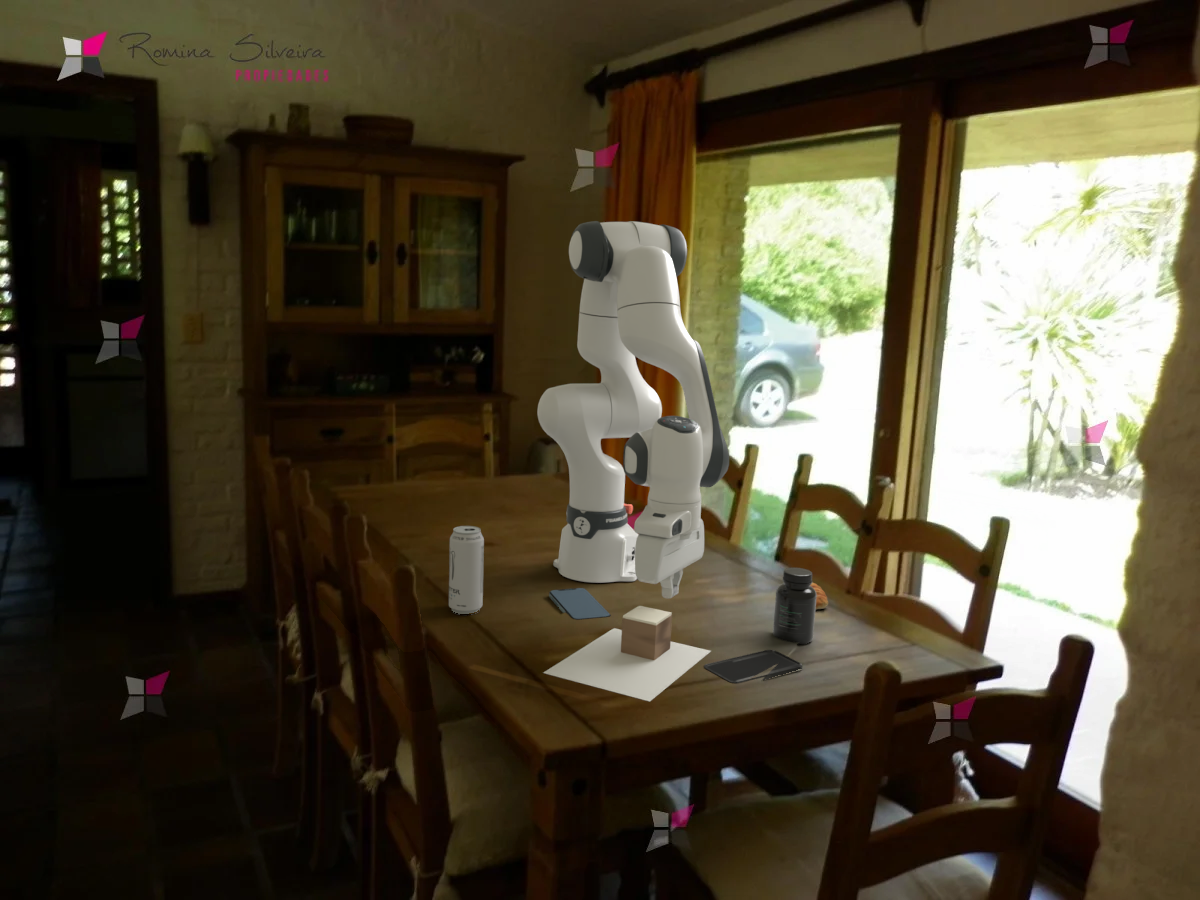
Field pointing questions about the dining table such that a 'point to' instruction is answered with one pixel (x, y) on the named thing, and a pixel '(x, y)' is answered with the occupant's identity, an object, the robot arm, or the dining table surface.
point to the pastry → (820, 597)
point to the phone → (753, 666)
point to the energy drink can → (466, 569)
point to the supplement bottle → (795, 607)
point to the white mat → (626, 667)
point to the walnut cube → (646, 632)
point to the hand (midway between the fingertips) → (670, 596)
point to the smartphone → (578, 603)
